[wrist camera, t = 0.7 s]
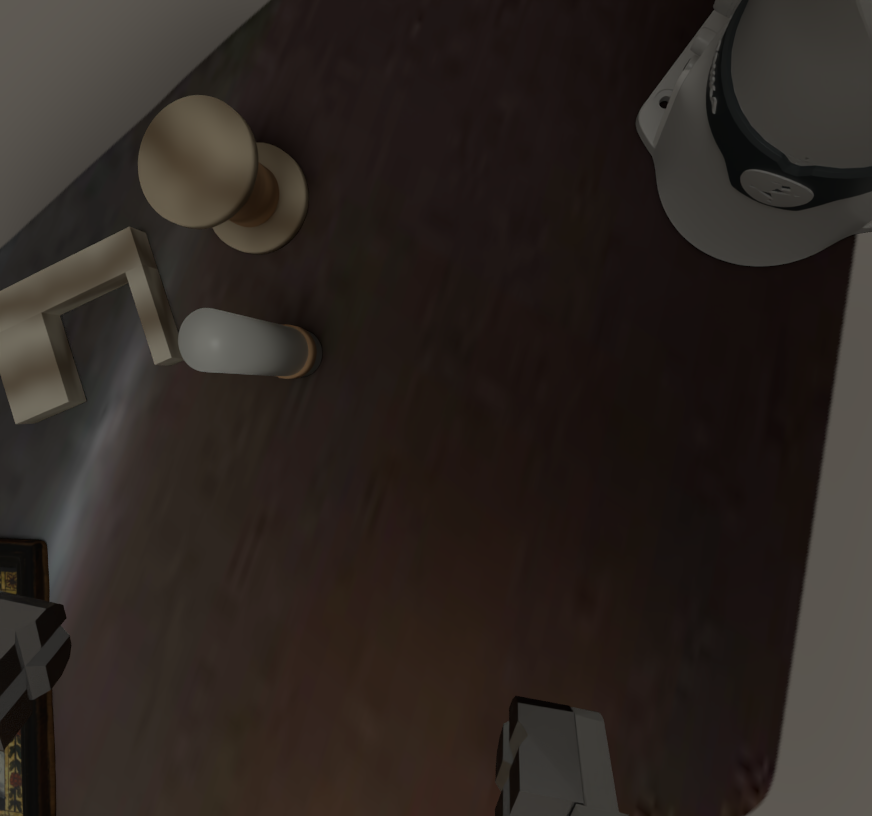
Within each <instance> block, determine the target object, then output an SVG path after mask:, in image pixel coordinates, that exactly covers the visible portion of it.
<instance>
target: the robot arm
mask: <svg viewBox="0 0 872 816" xmlns="http://www.w3.org/2000/svg"><path fill="white" fill-rule="evenodd" d="M713 8H714V10H713V12H712V13H711V15H710V16H709V17H708V19H707V20H706V21H705V23H704V24H703V25H702V27H701V28H700V29H699V31H698V32H697V33H696V35H695V36H694V37H693V39H692V40H691V41H690V43H689V44H688V45H687V47H686V48H685V49H684V51H683V52H682V53H681V55H680V56H679V58H678V59H677V60H676V62H675V63H674V64H673V66H672V67H671V68H670V70H669V71H668V72H667V74H666V75H665V76H664V78H663V79H662V80H661V82H660V83H659V84H658V86H657V87H656V88H655V90H654V91H653V92H652V94H651V95H650V96H649V98H648V99H647V101H646V102H645V103H644V105H643V106H642V108H641V109H640V111H639V113H638V115H637V118H636V129H637V132H638V134H639V136H640V138H641V140H642V142H643V143H644V145H645V146H646V148H647V150H648V151H649V153H650V154H651V156H652V158H653V161H654V166H655V172H656V181H657V188H658V193H659V196H660V200H661V202H662V205H663V208H664V210H665V212H666V214H667V216H668V217H669V219H670V221H671V222H672V224H673V225H674V227H675V228H676V229H677V230H678V232H679V233H680V234H681V235H682V236H683V237H684V238H685V239H686V240H688V241H689V242H690V243H691V244H692V245H694V246H695V247H696V248H698V249H700V250H701V251H703V252H705V253H706V254H708V255H710V256H713V257H715V258H717V259H720V260H723V261H726V262H729V263H734V264H738V265H745V266H774V265H781V264H786V263H791V262H794V261H798V260H801V259H804V258H807V257H809V256H811V255H814V254H816V253H818V252H820V251H822V250H824V249H825V248H827V247H829V246H831V245H832V244H834V243H836V242H838V241H839V240H841V239H843V238H845V237H848V236H850V235H853V234H859V233H866V232H872V0H715V3H714V5H713ZM662 101H667V102H668V105H667V107H666V109H664V108H661V107H660V105H659V103H660V102H662ZM65 619H66V614H65V610H64V606H63V605H61V604H57V603H52V602H48V601H43V600H39V599H35V598H30V597H26V596H21V595H17V594H12V593H8V592H4V591H0V750H5V748H6V747H7V746H8V745H9V743H10V742H11V741H12V739H13V738H14V737H15V736H16V734H17V733H18V732H19V730H20V729H21V728H22V727H23V725H24V724H25V723H26V721H27V720H28V719H29V717H30V716H31V715H32V714H33V700H34V699H35V698H37V697H39V696H41V695H43V694H44V693H46V692H48V691H50V690H51V689H52V688H53V686H54V685H55V684H56V682H57V681H58V679H59V678H60V677H61V675H62V674H63V671H64V669H65V667H66V665H67V662H68V660H69V658H70V651H71V640H70V635H69V634H68V633H67V632H66V631H65V630H64V629H63V628H62V627H61V626H60V625H61V624H62V623H63V622H64V620H65ZM495 782H496V783H497V785H498V787H499V789H500V790H501V794H500V797H499V799H498V802H497V805H496V808H495V816H628V815H627V814H623V813H619V811H618V805H617V799H616V792H615V786H614V780H613V774H612V768H611V762H610V756H609V750H608V744H607V738H606V732H605V725H604V720H603V718H602V716H601V714H600V713H598V712H595V711H589V710H584V709H578V708H573V707H570V706H568V705H562V704H557V703H552V702H546V701H541V700H536V699H530V698H525V697H520V696H515V697H514V698H513V699H512V702H511V705H510V707H509V721H508V722H506V723H505V724H503V727H502V731H501V734H500V737H499V743H498V749H497V756H496V777H495Z"/></svg>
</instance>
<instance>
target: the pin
mask: <svg viewBox="0 0 872 816" xmlns="http://www.w3.org/2000/svg"><path fill="white" fill-rule="evenodd" d="M178 345H179V350H180V353H181V355H182V357H183V359H184V360H185V362H186V363H187V364H188V365H189V366H190V367H192V368H193V369H195V370H198V371H202V372H215V373H232V374H250V375H267V376H276V377H279V378H287V379H295V378H300V377H306V376H309V375H311V374H312V373H313V372H315V371H316V369H317V368H318V367H319V365H320V363H321V359H322V347H321V344H320V342H319V340H318V339H317V337H316V336H315V335H314V334H312V333H311V332H309V331H306V330H305V329H303V328H301V327H297V326H293V325H288V324H283V325H281V324H276V323H272V322H268V321H263V320H259V319H255V318H251V317H246V316H242V315H238V314H233V313H229V312H225V311H221V310H216V309H212V308H201V309H198V310H196V311H194V312H192V313H191V314H189V315H188V316H187V317H186V319H185V320H184V321H183V323H182V325H181V327H180V330H179V335H178Z"/></svg>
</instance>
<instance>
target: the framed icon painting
mask: <svg viewBox="0 0 872 816" xmlns="http://www.w3.org/2000/svg"><path fill="white" fill-rule="evenodd" d="M0 591H4V592H8V593H12V594H17V595H21V596H26V597H30V598H35V599H39V600H43V601H48V602H49V571H48V552H47V545H46V543H45V542H44V541H41V540H29V539H2V538H0ZM0 816H56V775H55V744H54V723H53V708H52V689H51V690H50V691H48V692H46V693H44V694H43V695H41V696H39V697H37V698H35V699H34V700H33V714H32V715H31V716H30V717H29V719H28V720H27V721H26V723H25V724H24V725H23V727H22V728H21V729H20V730H19V732H18V733H17V734H16V736H15V737H14V738H13V739H12V741H11V742H10V743H9V745H8V746H7V747H6V748H5V750H0Z"/></svg>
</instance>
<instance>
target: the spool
mask: <svg viewBox="0 0 872 816" xmlns="http://www.w3.org/2000/svg"><path fill="white" fill-rule="evenodd" d="M138 173H139V180H140V184H141V187H142V190H143V193H144V195H145V197H146V199H147V201H148V202H149V203H150V205H151V206H152V207H153V208H154V210H155V211H156V212H157V213H159V214H160V215H161V216H162V217H164V218H166V219H167V220H169V221H171V222H174V223H176V224H178V225H181V226H183V227H187V228H191V229H207V228H213V229H214V231H215V233H216V234H217V235H218V236H219V238H220V239H221V240H222V241H224V242H225V243H226V244H227V245H229V246H231V247H233V248H235V249H237V250H240V251H242V252H245V253H248V254H256V255H259V254H267V253H271V252H274V251H276V250H278V249H280V248H282V247H283V246H285V245H286V244H288V243H289V242H290V241H291V240H292V239H293V238H294V237H295V235H296V234H297V233H298V231H299V230H300V228H301V226H302V224H303V222H304V220H305V217H306V214H307V210H308V203H309V192H308V185H307V181H306V178H305V176H304V173H303V171H302V170H301V168H300V167H299V165H298V164H297V163H296V161H295V160H294V159H293V158H291V157H290V156H289V155H288V154H287V153H285V152H284V151H283V150H281V149H280V148H278V147H276V146H273V145H271V144H267V143H256V140H255V137H254V135H253V132H252V131H251V129H250V127H249V125H248V124H247V122H246V121H245V120H244V119H243V118H242V117H241V116H240V115H239V114H238V113H237V112H236V111H235V110H234V109H232V108H231V107H230V106H228V105H227V104H226V103H224V102H223V101H221V100H219V99H216V98H213V97H210V96H205V95H194V96H188V97H184V98H181V99H179V100H176V101H174V102H173V103H171V104H169V105H168V106H166V107H165V108H164V109H163V110H162V111H161V112H160V113H159V114H158V115H157V116H156V117H155V118H154V119H153V121H152V122H151V124H150V125H149V127H148V129H147V130H146V133H145V135H144V137H143V140H142V143H141V146H140V151H139V158H138Z"/></svg>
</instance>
